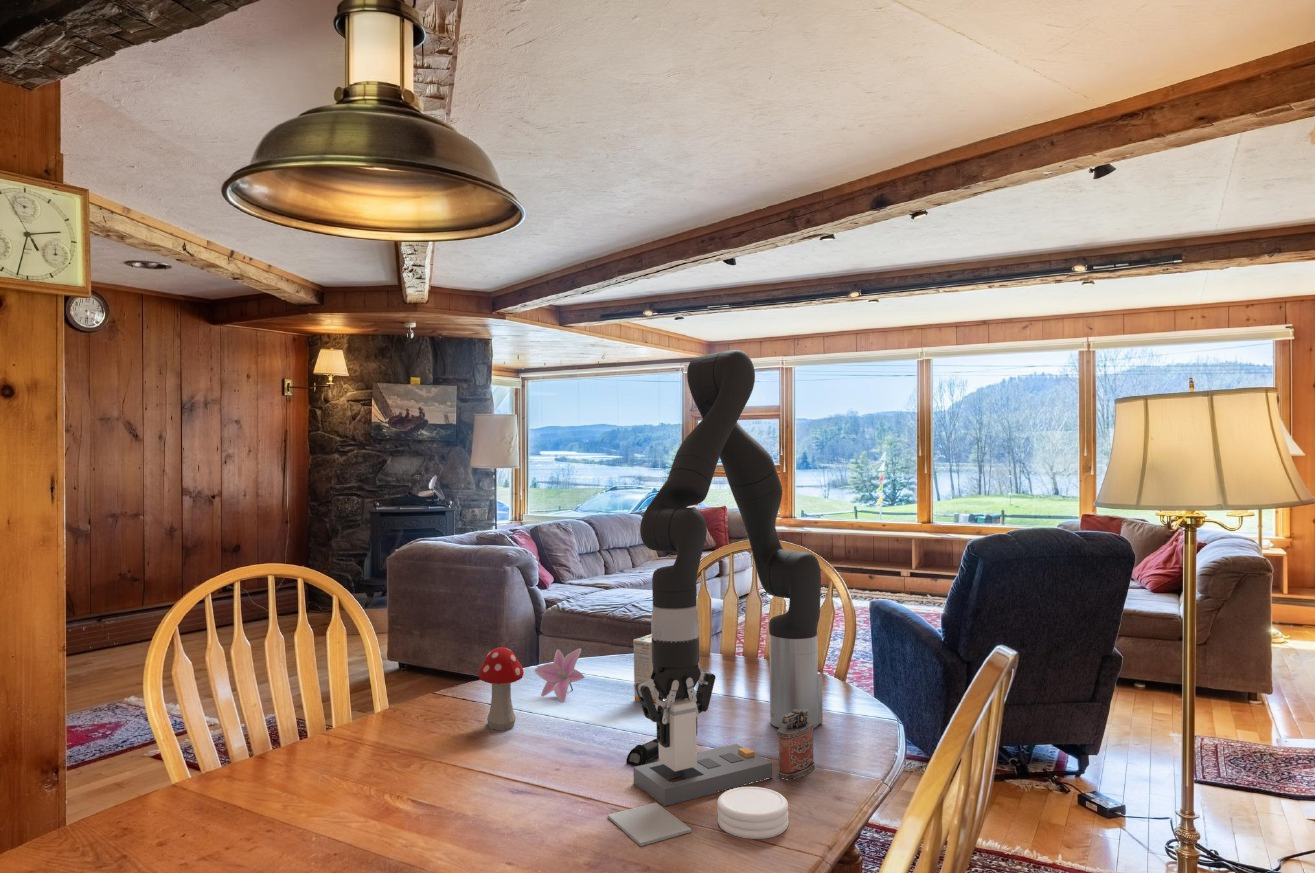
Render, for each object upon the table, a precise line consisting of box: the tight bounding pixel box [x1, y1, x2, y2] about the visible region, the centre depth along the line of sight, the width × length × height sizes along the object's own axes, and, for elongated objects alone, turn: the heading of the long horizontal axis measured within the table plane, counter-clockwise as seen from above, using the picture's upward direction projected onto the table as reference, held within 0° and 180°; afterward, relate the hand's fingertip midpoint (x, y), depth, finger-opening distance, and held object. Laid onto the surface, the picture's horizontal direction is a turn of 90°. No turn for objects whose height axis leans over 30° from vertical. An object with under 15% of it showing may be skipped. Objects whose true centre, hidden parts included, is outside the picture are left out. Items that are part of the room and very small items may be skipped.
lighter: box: [777, 709, 816, 781], centre depth 133 cm, size 8×3×10 cm, turn 134°
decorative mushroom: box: [478, 646, 524, 731], centre depth 158 cm, size 10×9×15 cm
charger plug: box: [658, 698, 698, 771], centre depth 127 cm, size 4×5×10 cm
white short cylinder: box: [716, 786, 789, 840], centre depth 115 cm, size 10×10×4 cm
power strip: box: [633, 743, 773, 807], centre depth 130 cm, size 20×10×3 cm, turn 120°
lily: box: [534, 647, 585, 703], centre depth 178 cm, size 12×12×10 cm
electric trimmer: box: [625, 738, 659, 767], centre depth 142 cm, size 4×16×3 cm, turn 142°
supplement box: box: [632, 633, 658, 703], centre depth 175 cm, size 8×5×13 cm, turn 144°
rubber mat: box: [607, 802, 692, 847], centre depth 114 cm, size 8×10×1 cm
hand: (677, 742), depth 127 cm, fingers closed on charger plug, 4 cm apart
